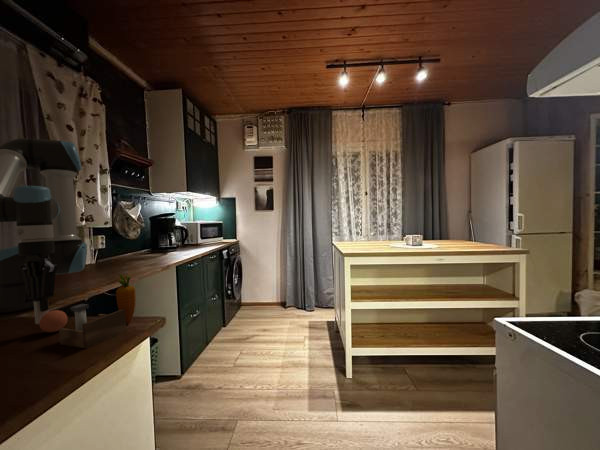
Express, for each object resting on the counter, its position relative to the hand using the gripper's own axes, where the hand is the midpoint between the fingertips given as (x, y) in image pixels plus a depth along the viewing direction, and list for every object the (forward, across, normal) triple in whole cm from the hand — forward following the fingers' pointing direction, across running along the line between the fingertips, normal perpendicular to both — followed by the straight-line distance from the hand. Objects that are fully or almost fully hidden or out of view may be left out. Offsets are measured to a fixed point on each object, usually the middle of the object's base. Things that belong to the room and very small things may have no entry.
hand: (42, 322), depth 80 cm
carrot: (+3, +21, +10) cm, 23 cm away
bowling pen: (+3, +20, +1) cm, 20 cm away
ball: (0, +4, +1) cm, 4 cm away
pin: (+3, +15, +1) cm, 15 cm away
